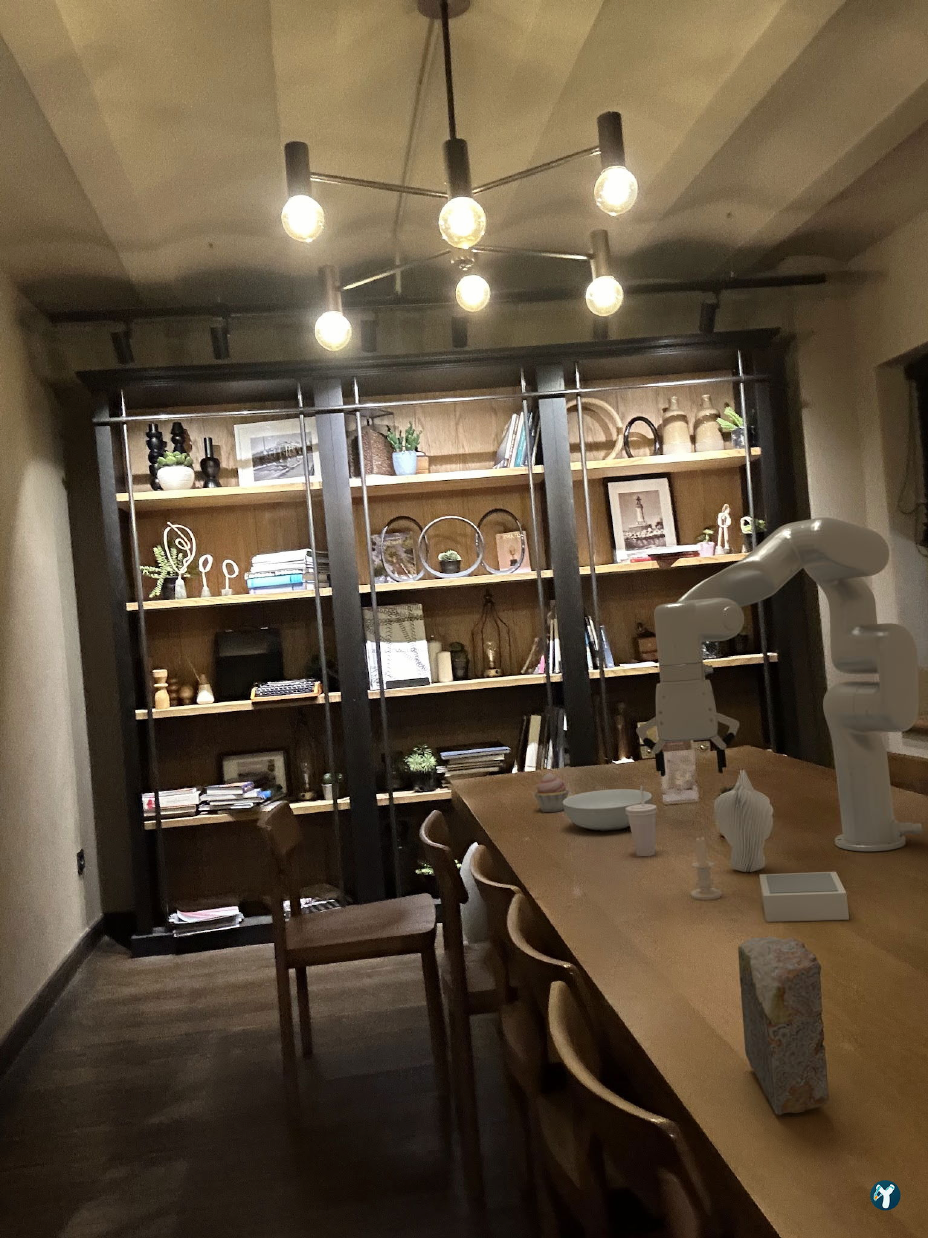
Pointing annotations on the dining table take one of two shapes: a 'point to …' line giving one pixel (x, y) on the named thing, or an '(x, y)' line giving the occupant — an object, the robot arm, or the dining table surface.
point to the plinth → (803, 897)
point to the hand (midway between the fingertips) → (691, 773)
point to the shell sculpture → (744, 823)
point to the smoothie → (643, 826)
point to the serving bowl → (603, 808)
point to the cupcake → (551, 793)
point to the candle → (704, 874)
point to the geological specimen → (784, 1022)
